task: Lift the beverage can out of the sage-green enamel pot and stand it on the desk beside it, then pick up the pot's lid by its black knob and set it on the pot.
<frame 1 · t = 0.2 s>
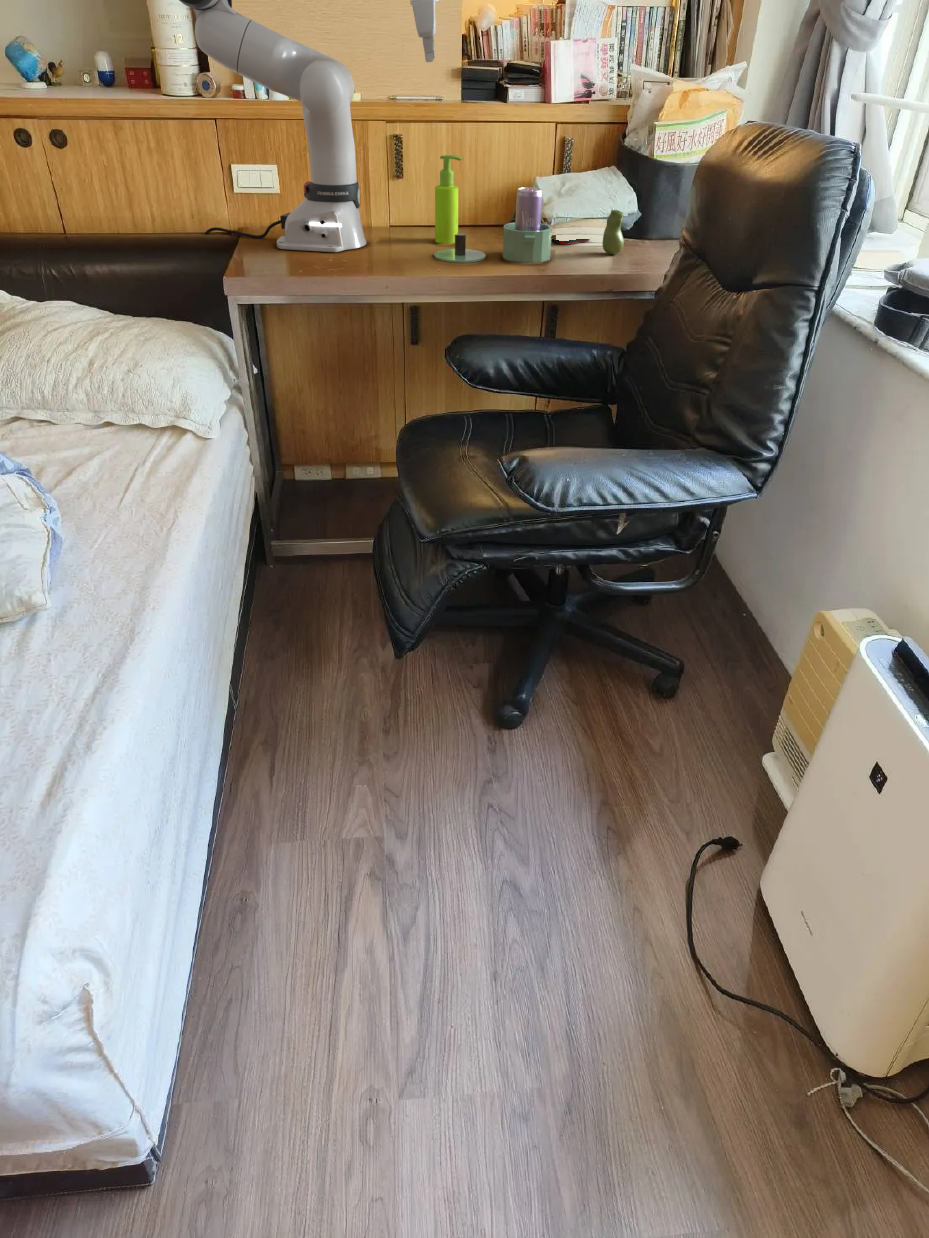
hand: (430, 61, 187), 39 cm above the table, tool pointing down, fingers open, 8 cm apart
pot lid: (460, 256, 198), point 1 cm above the table
beverage can: (525, 259, 200), resting on pot
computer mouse: (570, 242, 217), on the table
pot: (525, 259, 200), on the table
pear: (611, 255, 206), on the table
soap dispenser: (448, 244, 213), on the table
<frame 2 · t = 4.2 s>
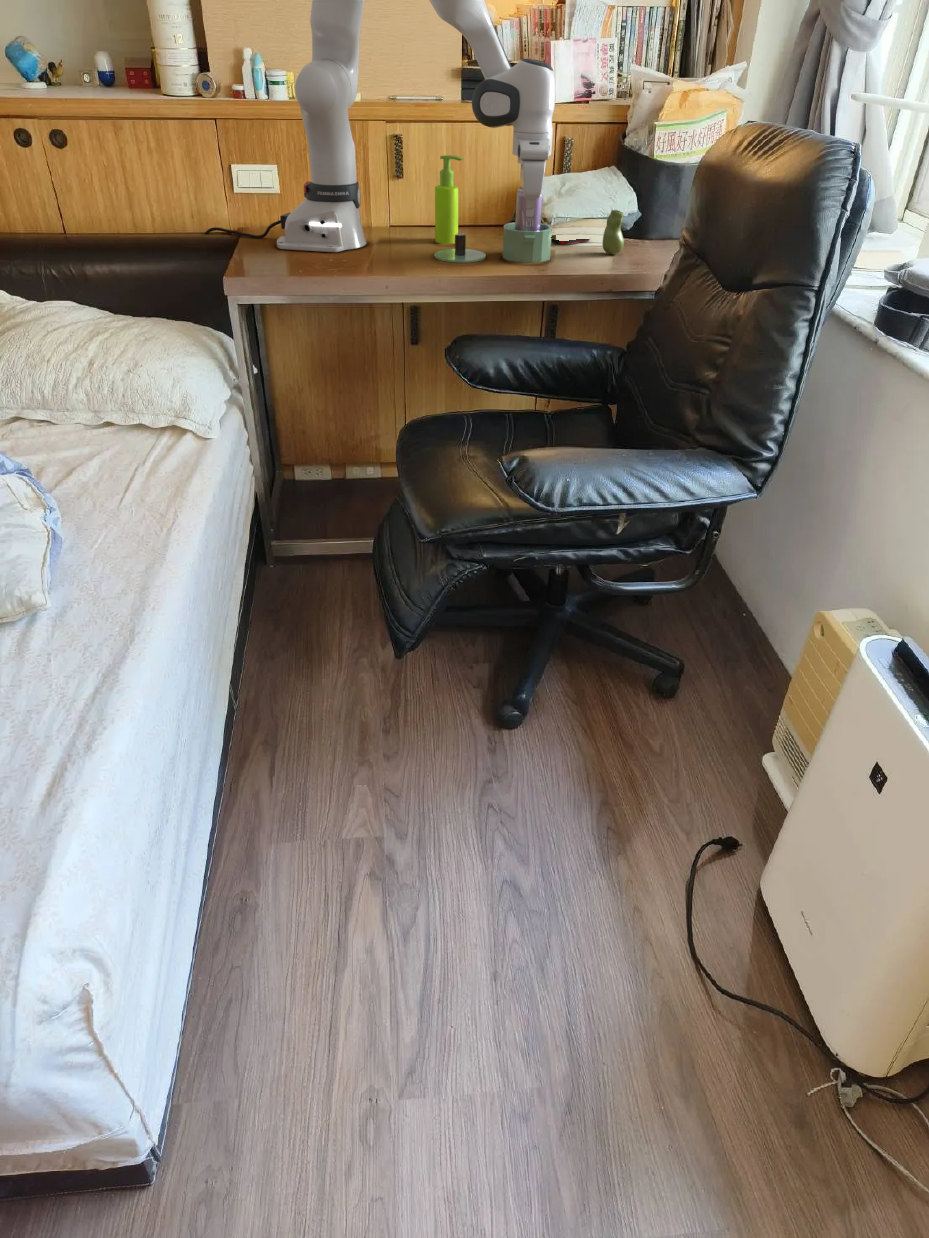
hand: (528, 213, 194), 10 cm above the table, tool pointing down, fingers closed on beverage can, 6 cm apart
beverage can: (525, 259, 200), resting on pot, touching gripper
everything else where it was.
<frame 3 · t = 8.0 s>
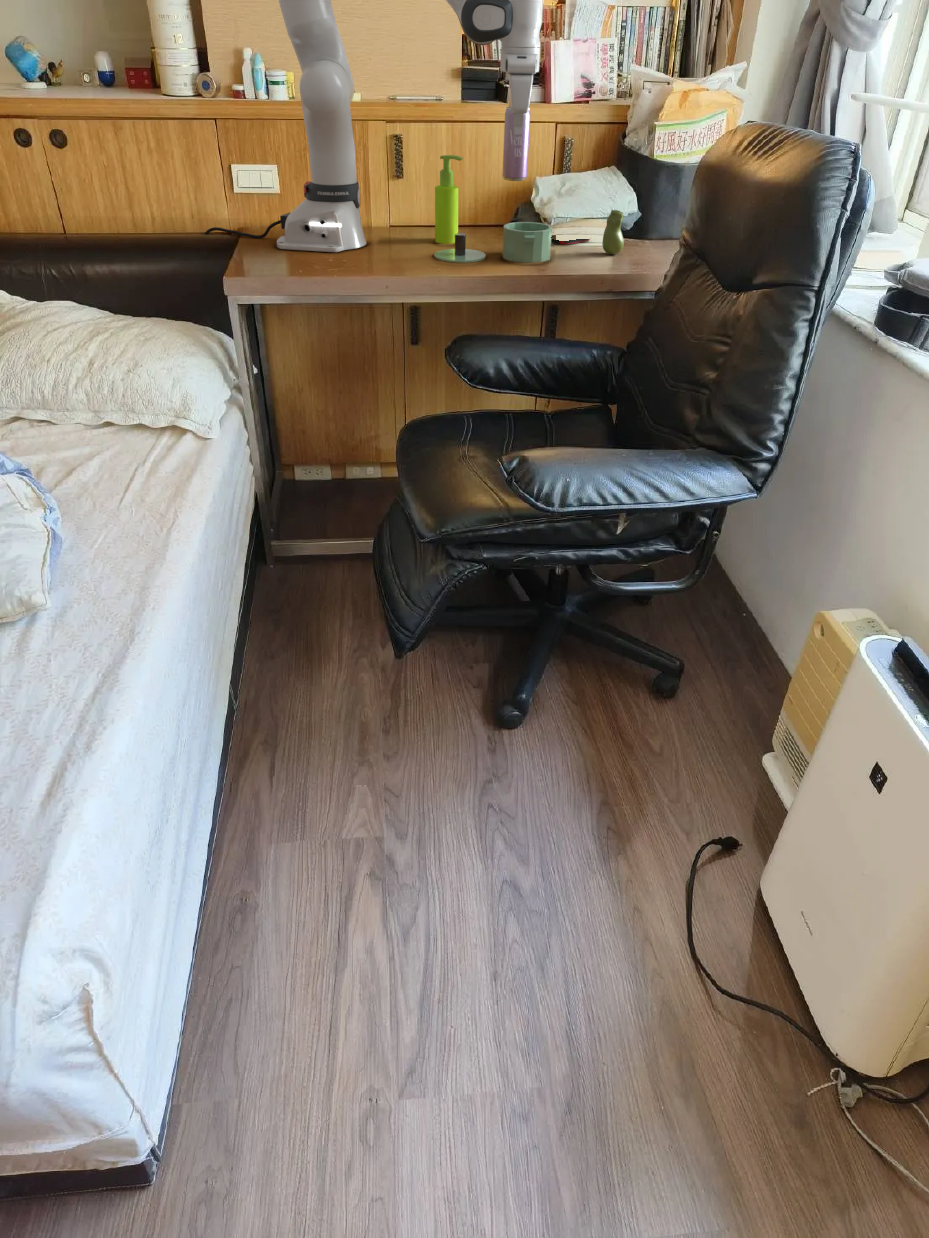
hand: (516, 133, 195), 25 cm above the table, tool pointing down, fingers closed on beverage can, 6 cm apart
beverage can: (514, 180, 201), point 15 cm above the table, touching gripper
everything else where it was.
when the fingers open (10 cm above the table, at t = 11.9 s): beverage can stays where it is, on the table.
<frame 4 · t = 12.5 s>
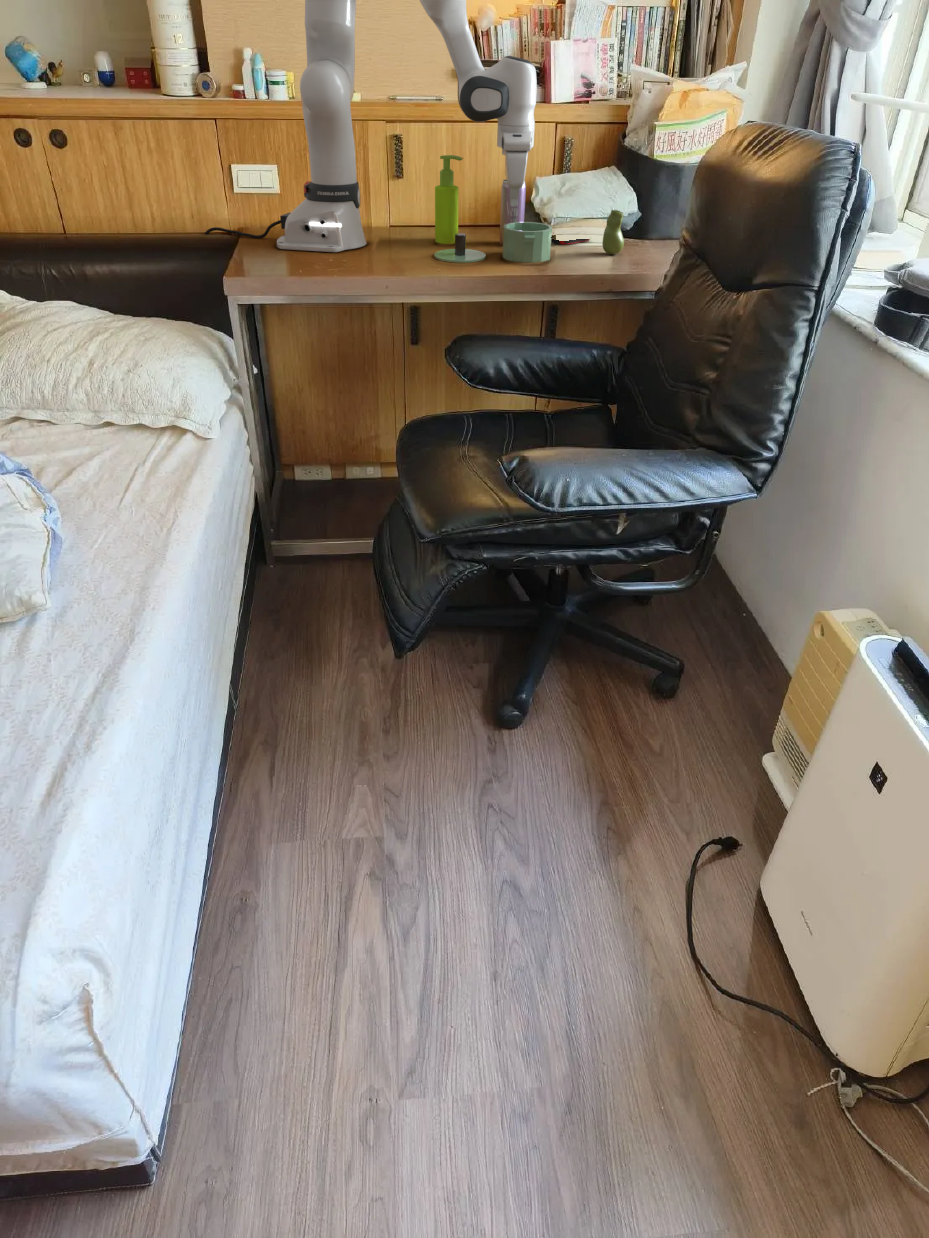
hand: (512, 202, 205), 10 cm above the table, tool pointing down, fingers open, 8 cm apart
beverage can: (511, 247, 211), on the table
everything else where it was.
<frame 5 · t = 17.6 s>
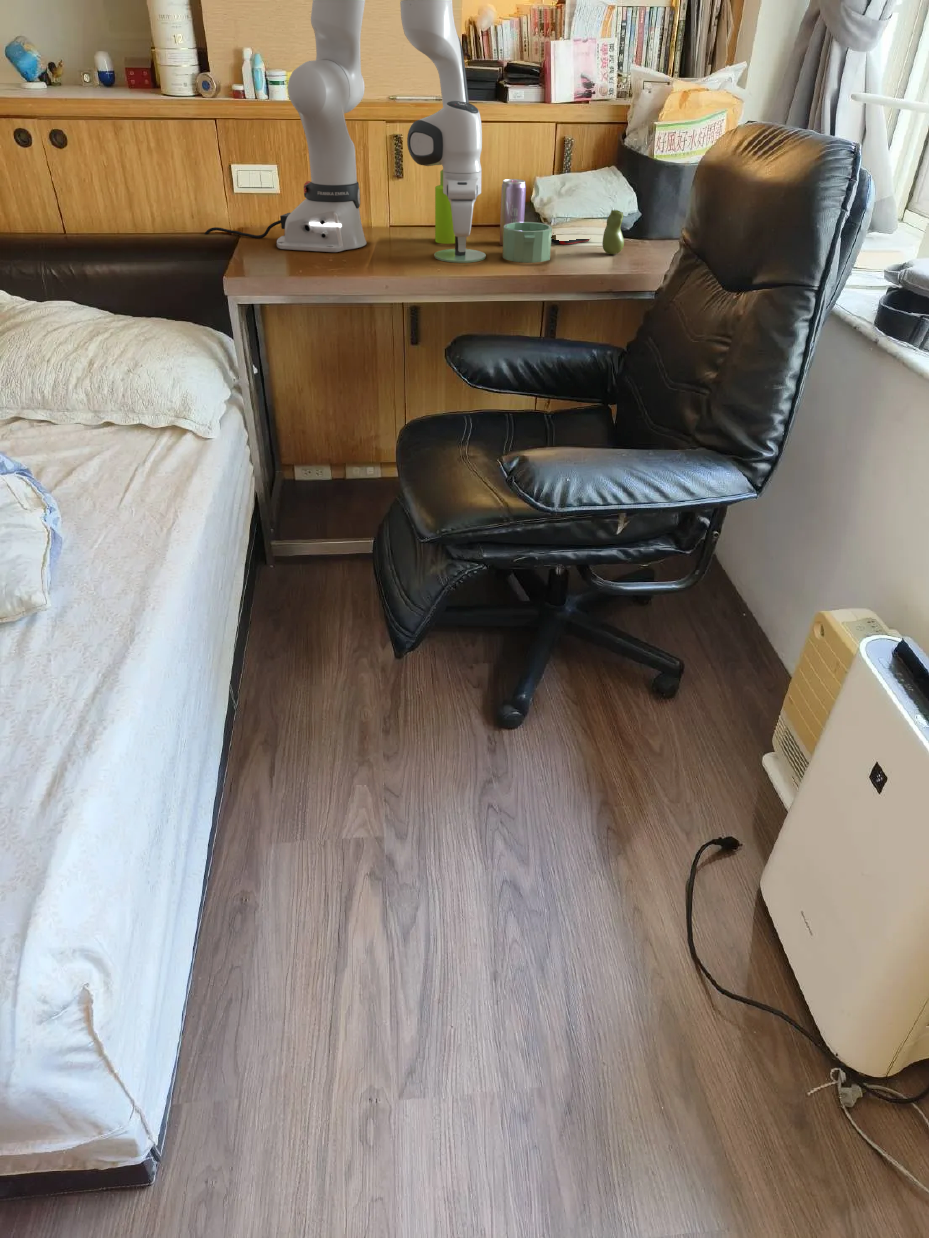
hand: (461, 249, 197), 2 cm above the table, tool pointing down, fingers closed on pot lid, 2 cm apart
pot lid: (460, 256, 198), point 1 cm above the table, touching gripper
soap dispenser: (448, 244, 213), on the table, touching arm
everything else where it was.
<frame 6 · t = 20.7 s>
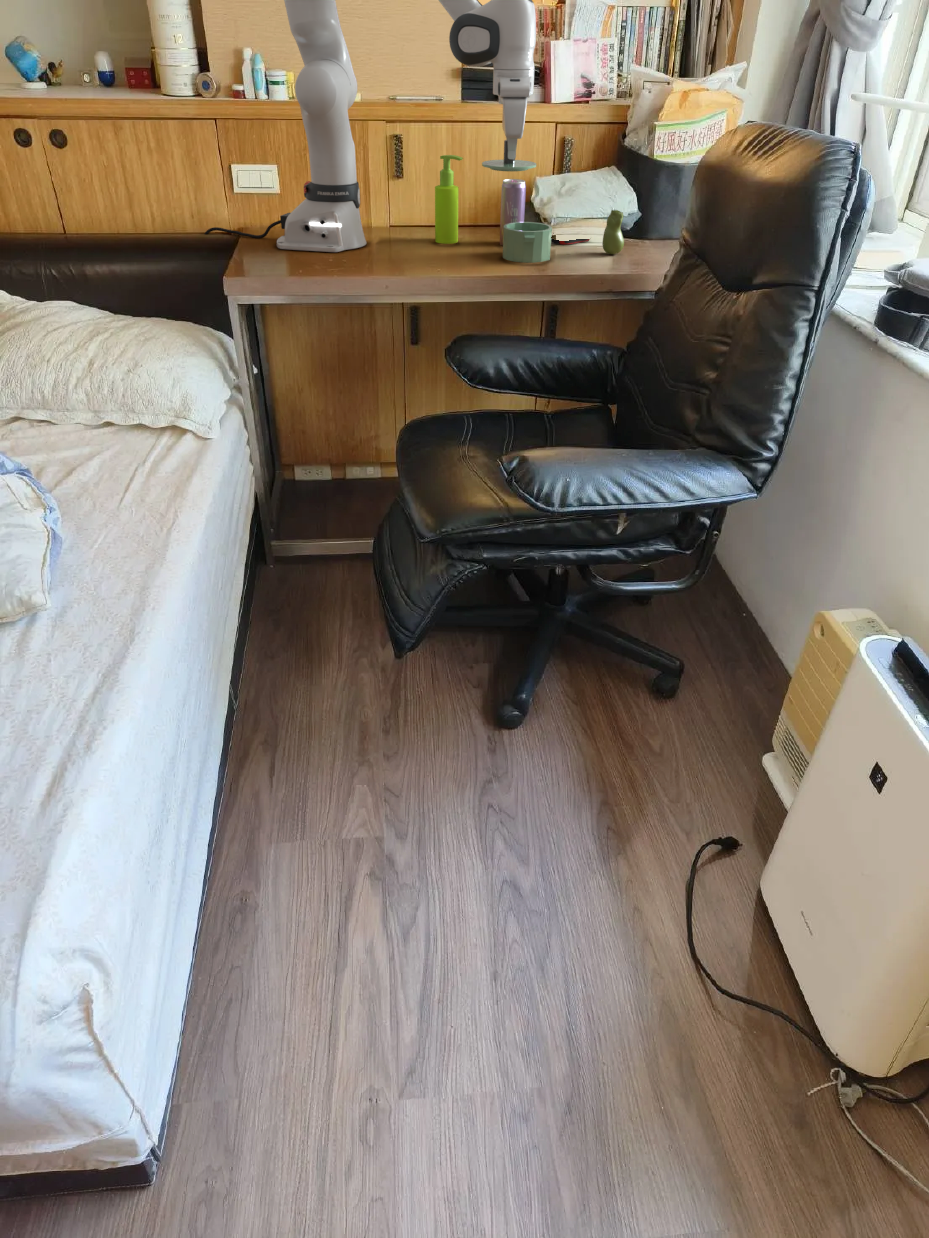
hand: (511, 157, 187), 22 cm above the table, tool pointing down, fingers closed on pot lid, 2 cm apart
pot lid: (509, 165, 188), point 20 cm above the table, touching gripper
soap dispenser: (448, 244, 213), on the table
everything else where it was.
when the fingers open (9 cm above the table, at t = 24.2 s): pot lid stays where it is, resting on pot.
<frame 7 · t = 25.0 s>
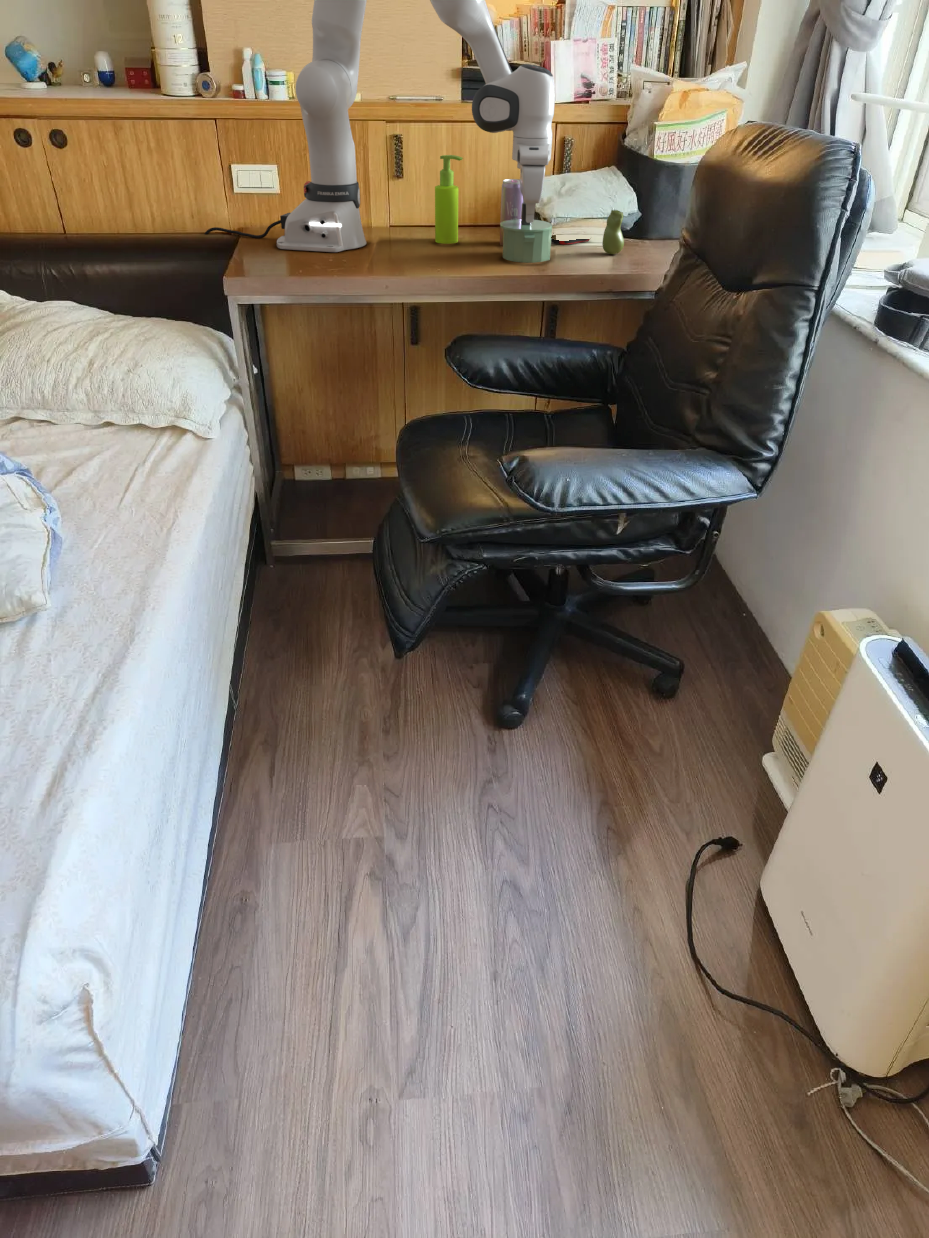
hand: (528, 218, 194), 9 cm above the table, tool pointing down, fingers open, 8 cm apart
pot lid: (526, 226, 195), point 7 cm above the table, touching pot
everything else where it was.
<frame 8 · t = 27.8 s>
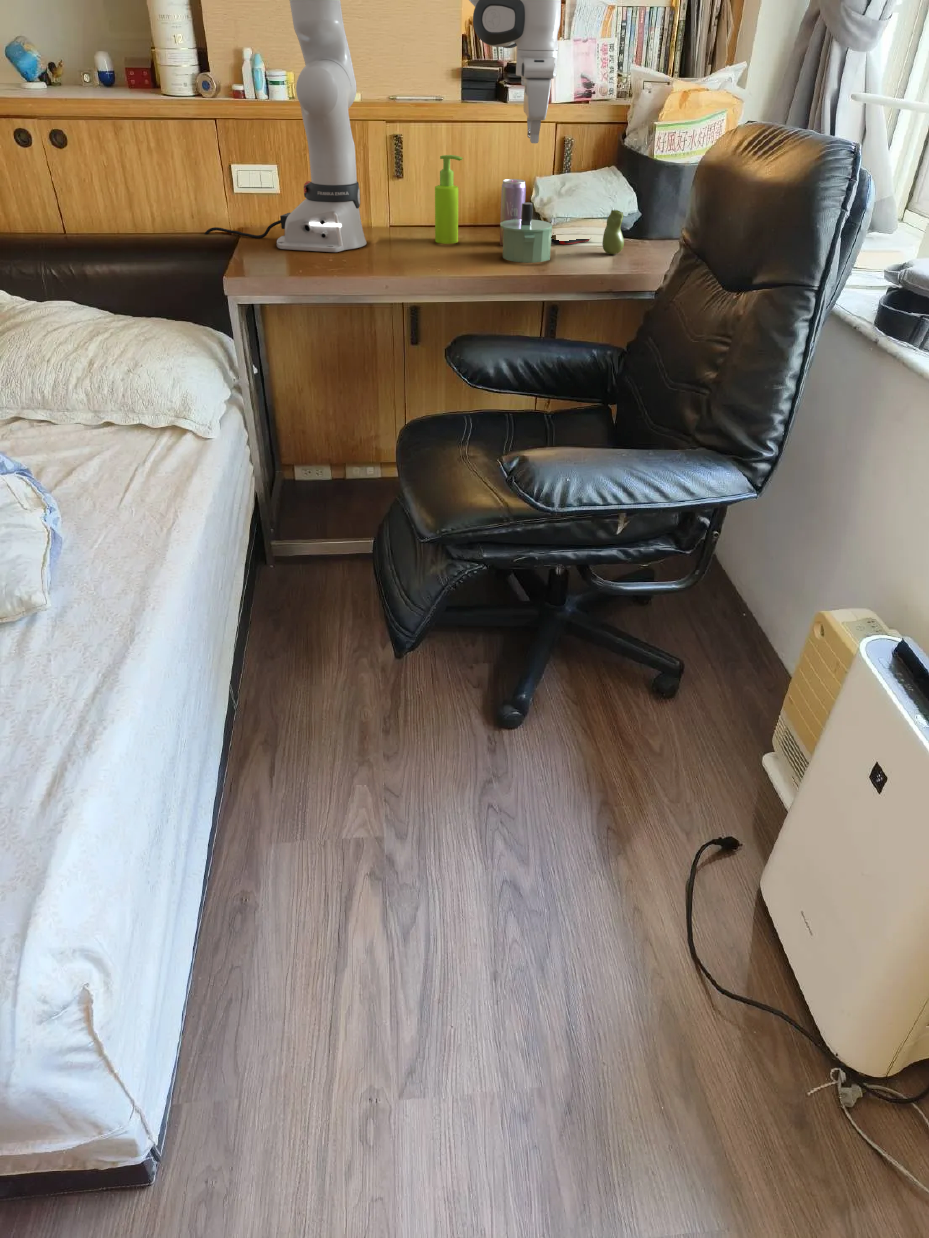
hand: (532, 140, 185), 25 cm above the table, tool pointing down, fingers open, 8 cm apart
nothing on the table moved.
at the end: beverage can inside the target area (0.1 cm from its centre), on the table; pot lid 0.4 cm off-centre on the pot, point 7.3 cm above the pot's base; pot lid tilted 0° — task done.
